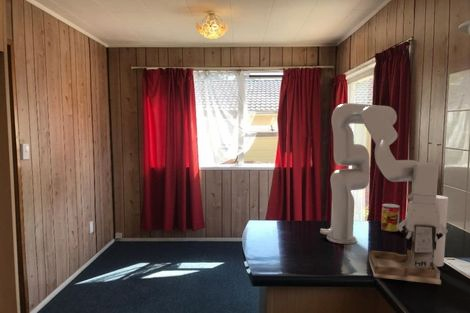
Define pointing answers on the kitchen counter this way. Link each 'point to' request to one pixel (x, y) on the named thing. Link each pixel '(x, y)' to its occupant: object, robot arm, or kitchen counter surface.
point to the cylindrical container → (440, 244)
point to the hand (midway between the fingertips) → (420, 249)
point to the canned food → (390, 217)
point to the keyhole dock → (400, 268)
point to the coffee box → (422, 247)
